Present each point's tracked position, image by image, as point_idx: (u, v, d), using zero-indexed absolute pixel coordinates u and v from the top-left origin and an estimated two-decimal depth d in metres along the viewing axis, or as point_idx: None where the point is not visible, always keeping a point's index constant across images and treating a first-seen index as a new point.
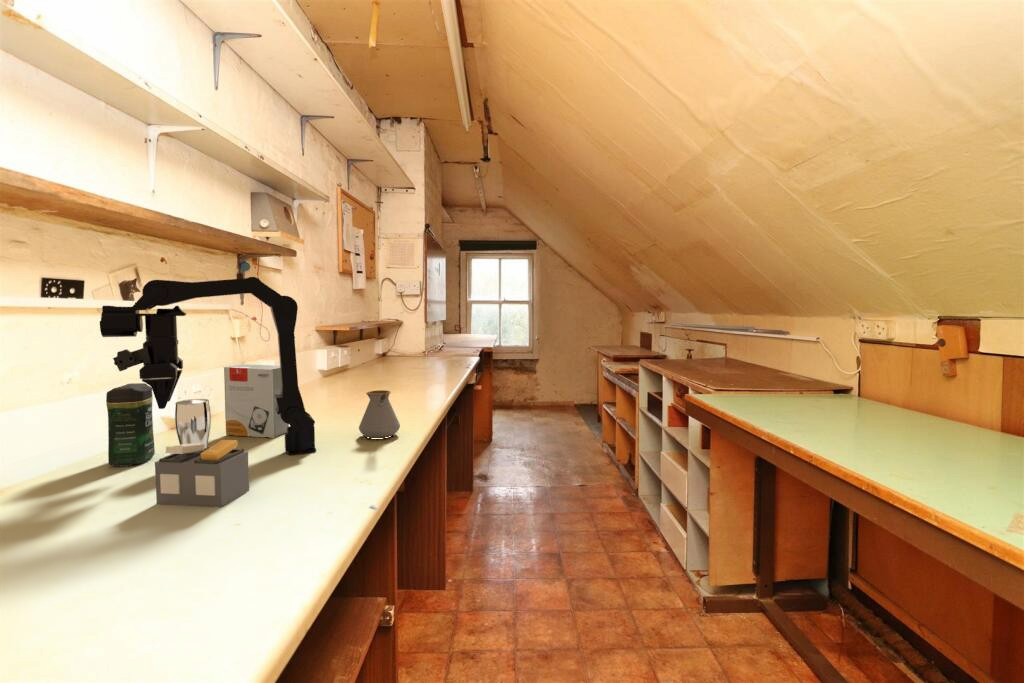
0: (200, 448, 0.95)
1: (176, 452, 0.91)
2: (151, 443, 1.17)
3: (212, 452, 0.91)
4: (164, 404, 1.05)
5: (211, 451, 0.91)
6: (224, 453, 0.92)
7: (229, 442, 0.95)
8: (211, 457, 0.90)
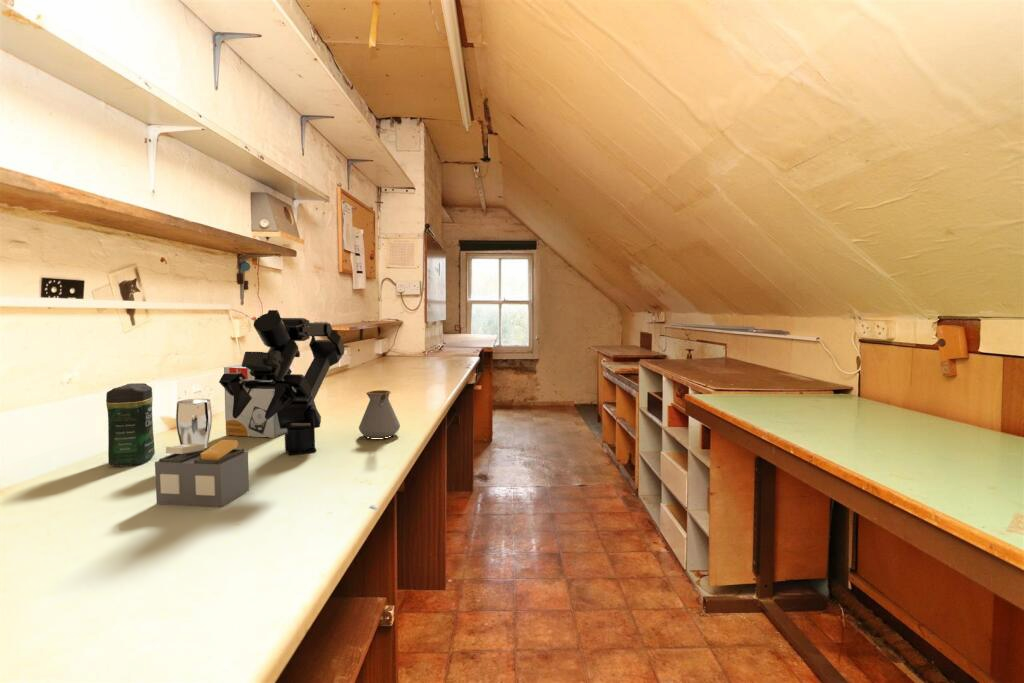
0: (200, 448, 0.95)
1: (176, 452, 0.91)
2: (151, 443, 1.17)
3: (212, 452, 0.91)
4: (271, 415, 1.03)
5: (211, 451, 0.91)
6: (224, 453, 0.92)
7: (229, 442, 0.95)
8: (211, 457, 0.90)
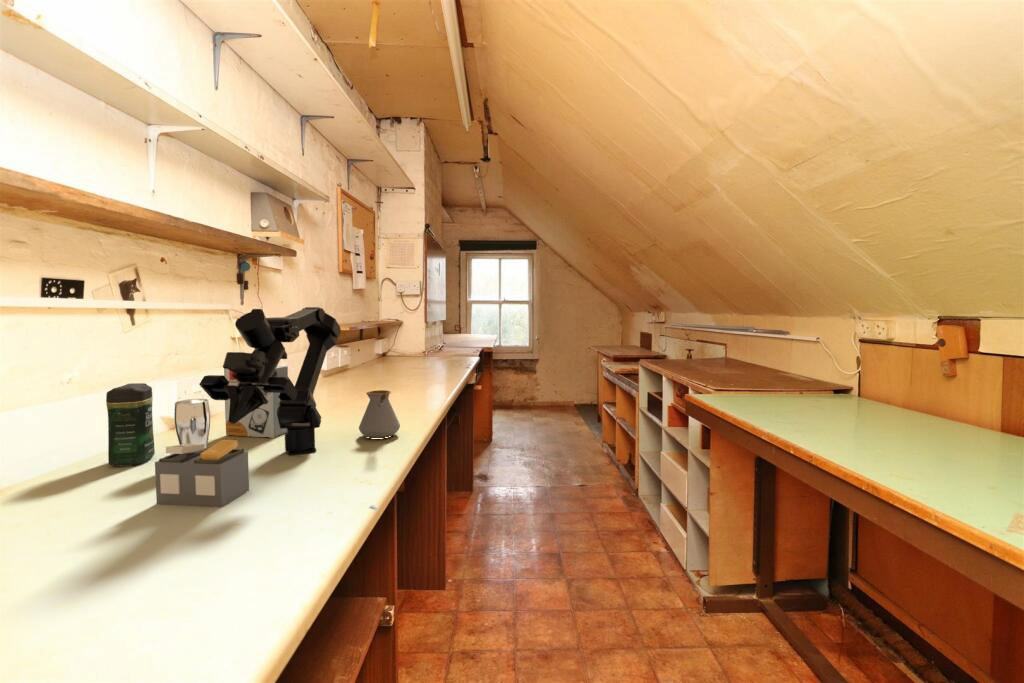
0: (200, 448, 0.95)
1: (176, 452, 0.91)
2: (151, 443, 1.17)
3: (212, 452, 0.91)
4: (237, 420, 0.97)
5: (211, 451, 0.91)
6: (224, 453, 0.92)
7: (229, 442, 0.95)
8: (211, 457, 0.90)
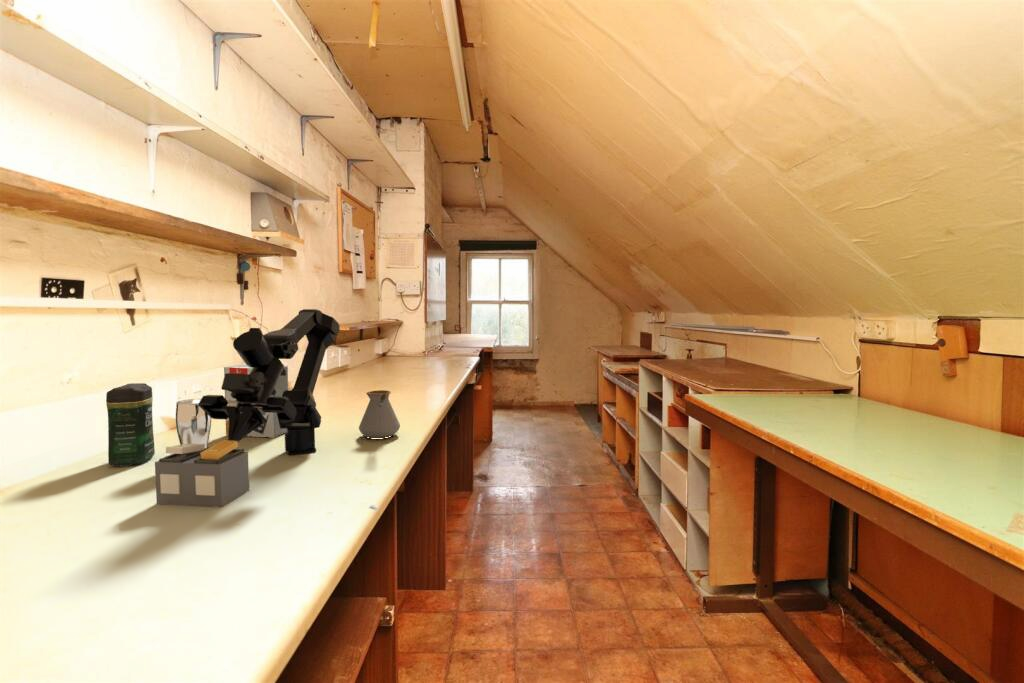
0: (200, 448, 0.95)
1: (176, 452, 0.91)
2: (151, 443, 1.17)
3: (212, 451, 0.91)
4: (237, 441, 0.97)
5: (211, 450, 0.91)
6: (224, 453, 0.92)
7: (229, 442, 0.95)
8: (211, 456, 0.90)
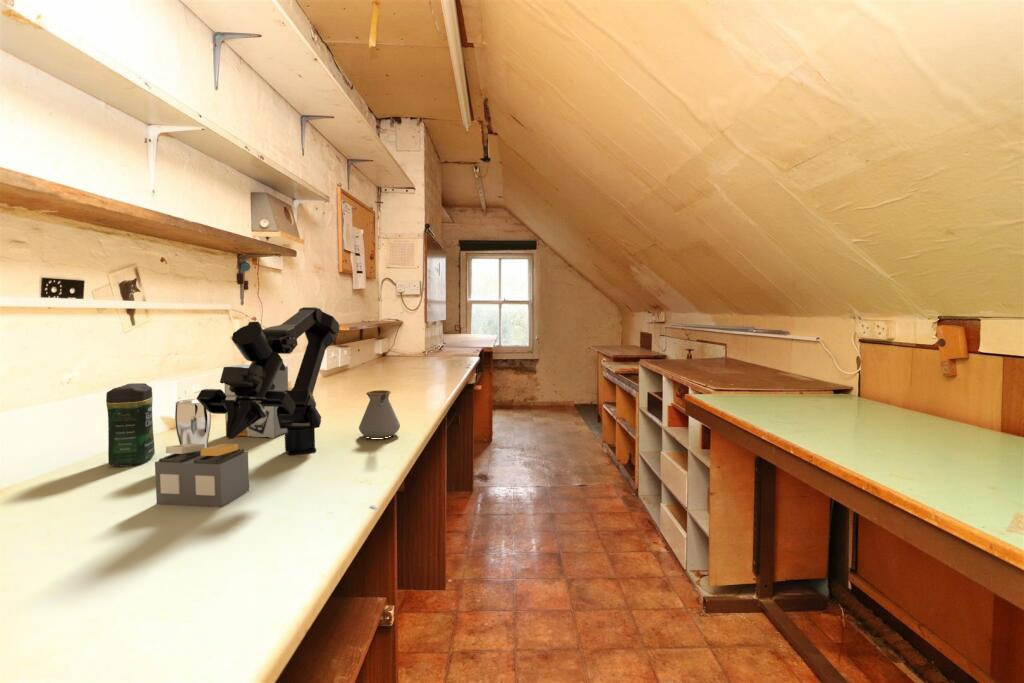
0: (200, 448, 0.95)
1: (176, 452, 0.91)
2: (151, 443, 1.17)
3: (213, 448, 0.91)
4: (235, 435, 0.97)
5: (211, 447, 0.91)
6: (224, 452, 0.92)
7: (230, 445, 0.95)
8: (211, 453, 0.90)
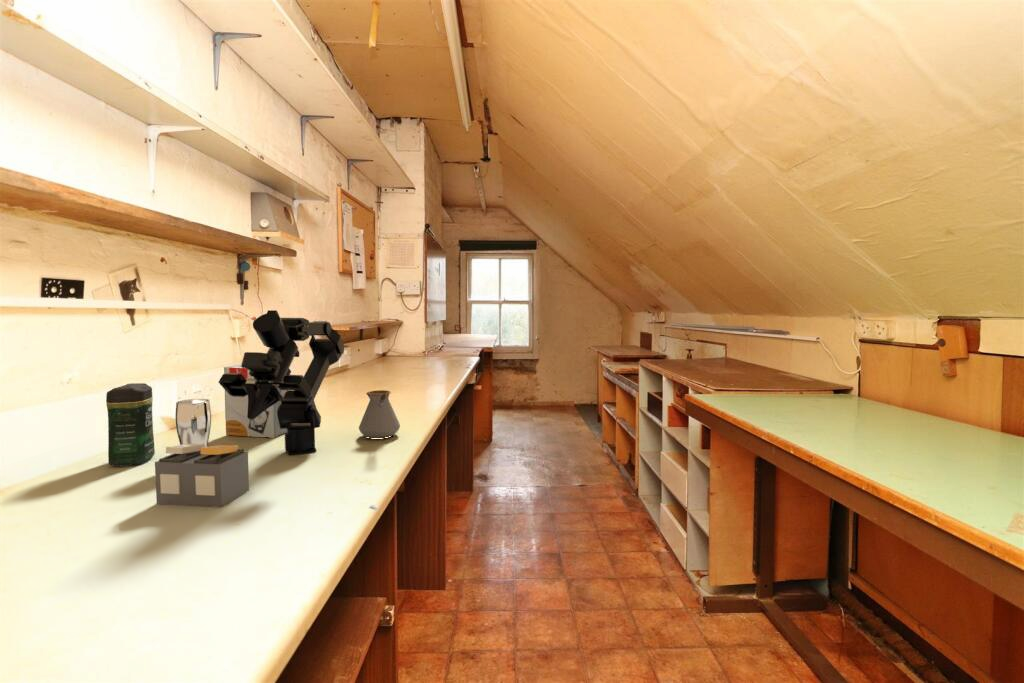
0: (200, 448, 0.95)
1: (176, 452, 0.91)
2: (151, 443, 1.17)
3: (213, 447, 0.91)
4: (256, 416, 1.03)
5: (212, 447, 0.91)
6: (224, 451, 0.92)
7: (230, 445, 0.95)
8: (211, 451, 0.90)
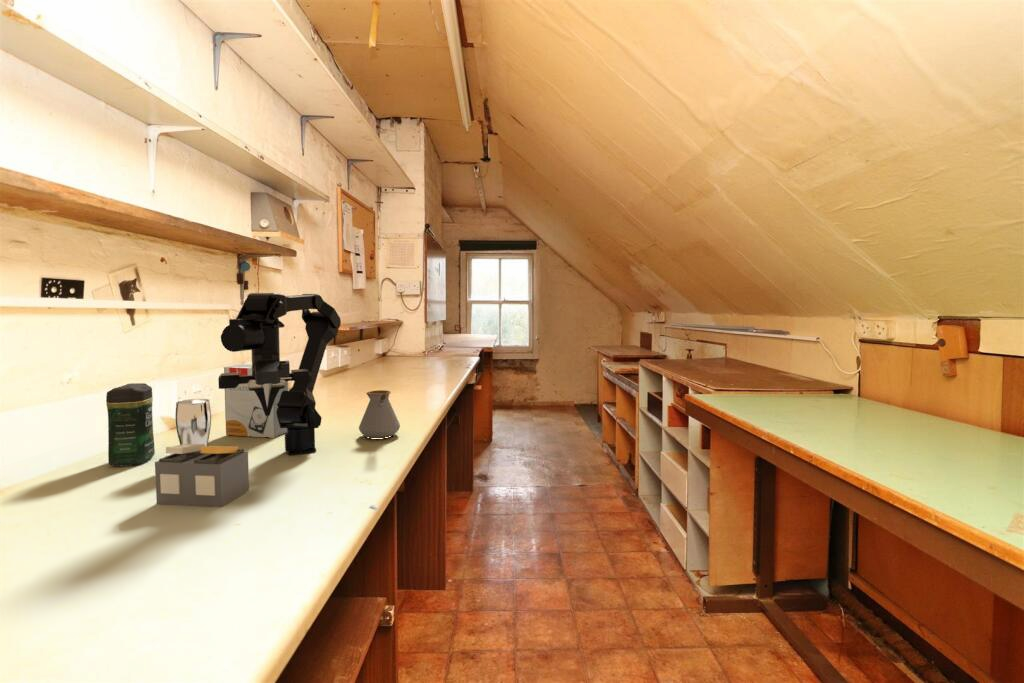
0: (200, 448, 0.95)
1: (176, 452, 0.91)
2: (151, 443, 1.17)
3: (213, 446, 0.91)
4: None
5: (212, 446, 0.91)
6: (224, 451, 0.92)
7: (230, 446, 0.95)
8: (211, 450, 0.90)
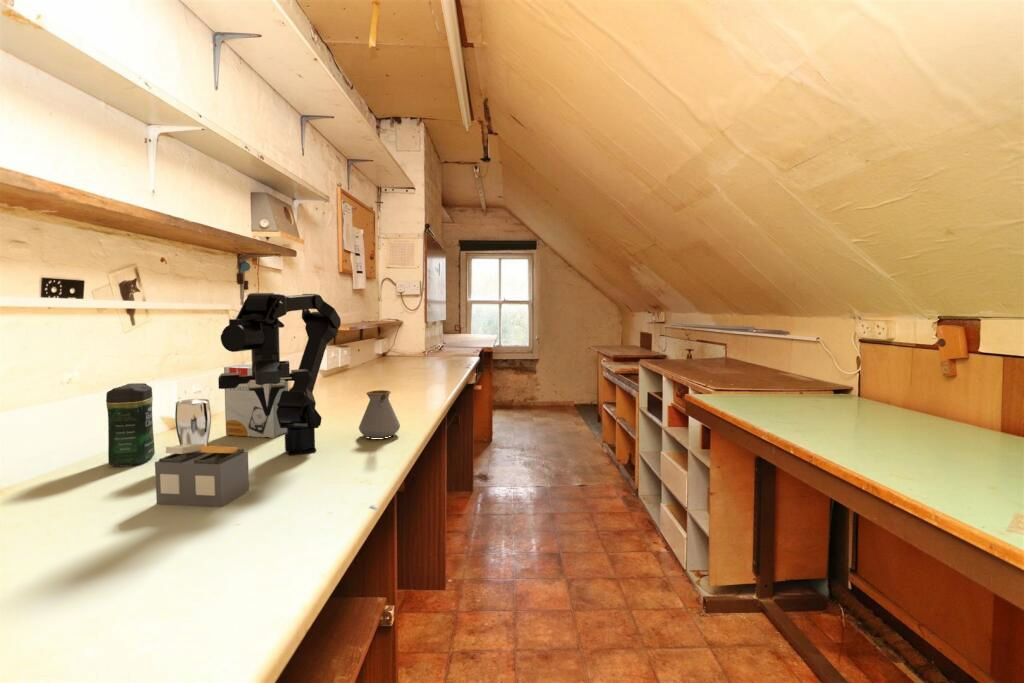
0: (200, 448, 0.95)
1: (176, 452, 0.91)
2: (151, 443, 1.17)
3: (214, 446, 0.91)
4: None
5: None
6: (224, 451, 0.92)
7: None
8: (211, 449, 0.90)
